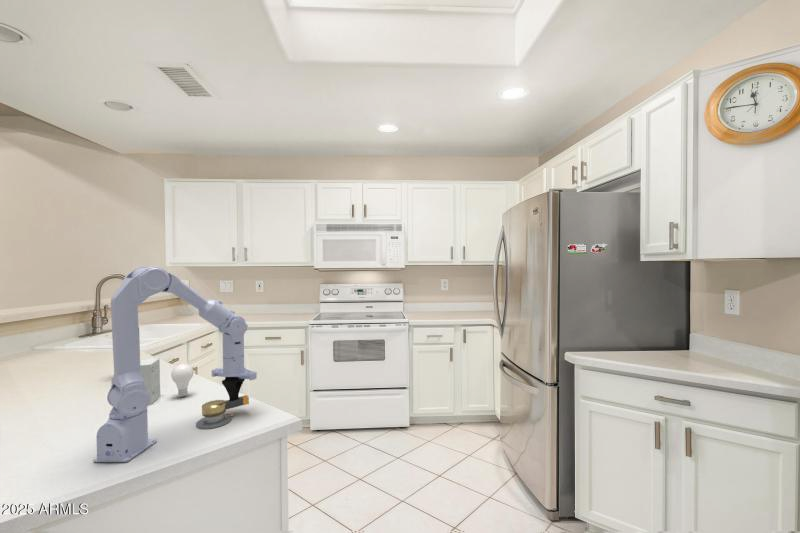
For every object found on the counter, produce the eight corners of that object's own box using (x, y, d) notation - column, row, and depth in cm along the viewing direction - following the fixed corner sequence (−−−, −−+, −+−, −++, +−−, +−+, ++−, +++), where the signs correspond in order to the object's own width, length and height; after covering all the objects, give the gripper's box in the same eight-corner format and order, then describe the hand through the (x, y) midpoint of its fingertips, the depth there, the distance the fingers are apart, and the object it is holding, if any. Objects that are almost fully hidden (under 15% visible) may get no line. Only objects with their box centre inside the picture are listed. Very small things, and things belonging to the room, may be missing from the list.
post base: (221, 429, 93) (221, 420, 93) (188, 429, 94) (188, 420, 94) (238, 414, 102) (238, 406, 102) (208, 414, 103) (208, 406, 103)
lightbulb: (183, 400, 114) (182, 367, 114) (167, 399, 115) (166, 366, 115) (198, 393, 120) (197, 361, 120) (182, 392, 121) (181, 361, 121)
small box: (139, 398, 117) (138, 359, 117) (161, 396, 119) (160, 357, 119) (128, 407, 109) (127, 366, 109) (151, 404, 111) (150, 364, 111)
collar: (205, 419, 94) (205, 410, 94) (199, 412, 98) (199, 404, 98) (251, 406, 102) (251, 398, 102) (244, 400, 106) (244, 392, 106)
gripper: (263, 354, 105) (264, 399, 105) (224, 351, 109) (224, 394, 109) (246, 360, 98) (247, 408, 98) (205, 357, 102) (206, 403, 102)
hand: (234, 402), depth 103 cm, fingers closed, pressing on collar
